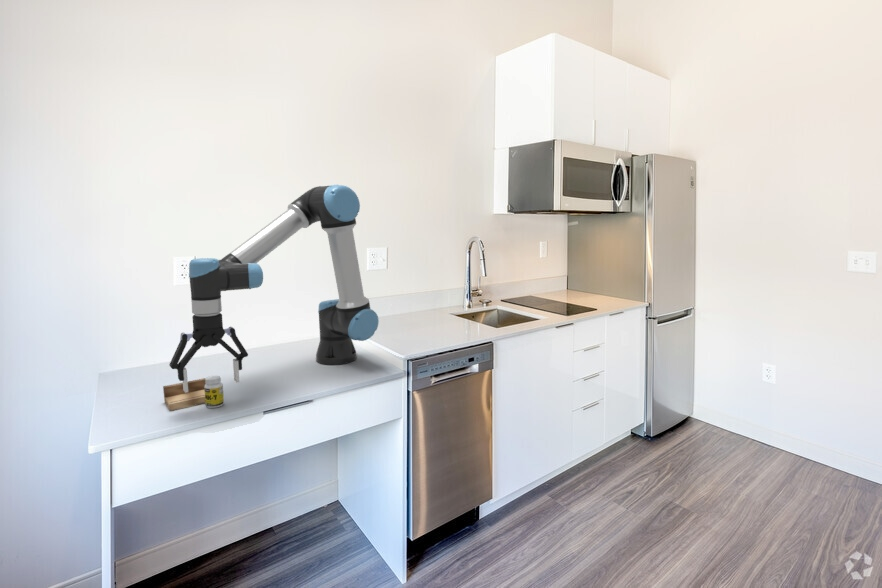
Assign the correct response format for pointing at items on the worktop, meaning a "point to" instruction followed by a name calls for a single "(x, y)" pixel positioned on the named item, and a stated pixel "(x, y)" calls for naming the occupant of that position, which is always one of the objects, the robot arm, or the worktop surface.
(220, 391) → the supplement bottle
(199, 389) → the wooden stand
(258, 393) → the worktop surface
